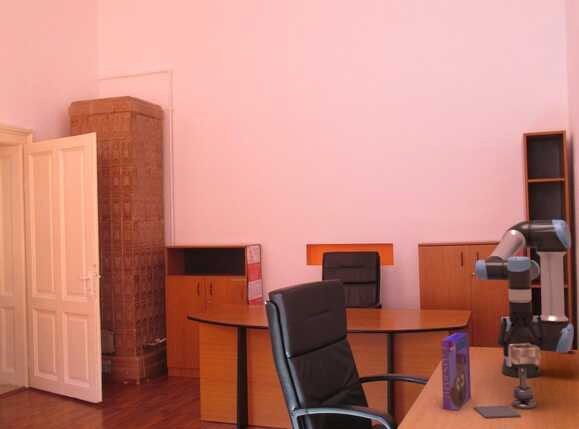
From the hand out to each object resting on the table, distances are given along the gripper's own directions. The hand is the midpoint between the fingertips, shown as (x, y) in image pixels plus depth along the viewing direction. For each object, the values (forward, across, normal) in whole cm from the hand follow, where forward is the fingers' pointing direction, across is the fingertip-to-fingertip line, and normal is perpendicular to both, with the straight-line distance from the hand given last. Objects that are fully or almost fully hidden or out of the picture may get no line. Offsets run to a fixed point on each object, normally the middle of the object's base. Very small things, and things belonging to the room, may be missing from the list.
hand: (522, 365), depth 213 cm
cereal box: (+14, +22, -6) cm, 27 cm away
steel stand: (+14, 0, 0) cm, 14 cm away
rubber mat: (+14, +12, +6) cm, 20 cm away
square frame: (-2, 0, 0) cm, 2 cm away
